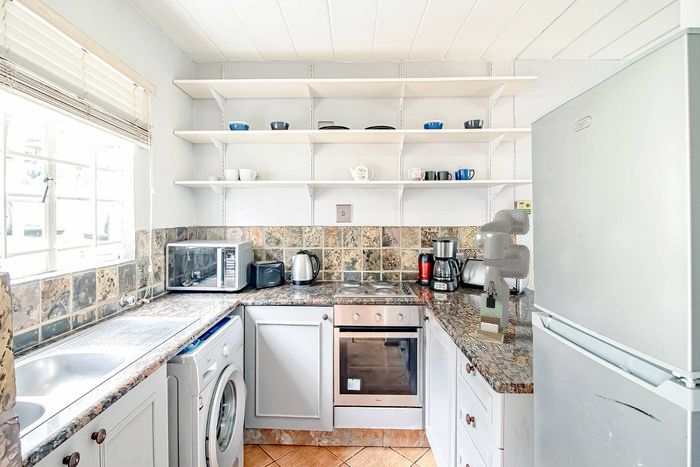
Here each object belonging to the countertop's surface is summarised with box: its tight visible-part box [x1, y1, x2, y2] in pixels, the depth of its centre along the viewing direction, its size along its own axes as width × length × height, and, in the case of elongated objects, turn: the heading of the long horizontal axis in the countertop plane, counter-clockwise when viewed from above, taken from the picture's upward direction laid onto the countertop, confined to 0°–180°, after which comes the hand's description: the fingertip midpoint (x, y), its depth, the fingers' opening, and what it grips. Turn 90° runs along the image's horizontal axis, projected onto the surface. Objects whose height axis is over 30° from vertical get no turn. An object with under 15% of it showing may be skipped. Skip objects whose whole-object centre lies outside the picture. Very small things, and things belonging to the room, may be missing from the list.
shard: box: [468, 317, 476, 326], centre depth 142 cm, size 11×8×2 cm
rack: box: [474, 322, 505, 345], centre depth 122 cm, size 11×10×5 cm
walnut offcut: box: [479, 315, 500, 331], centre depth 122 cm, size 2×7×8 cm, turn 61°
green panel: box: [479, 293, 503, 329], centre depth 124 cm, size 2×8×16 cm, turn 61°
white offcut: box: [481, 322, 498, 333], centre depth 119 cm, size 2×6×6 cm, turn 61°
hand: (491, 305), depth 124 cm, fingers open, 9 cm apart
